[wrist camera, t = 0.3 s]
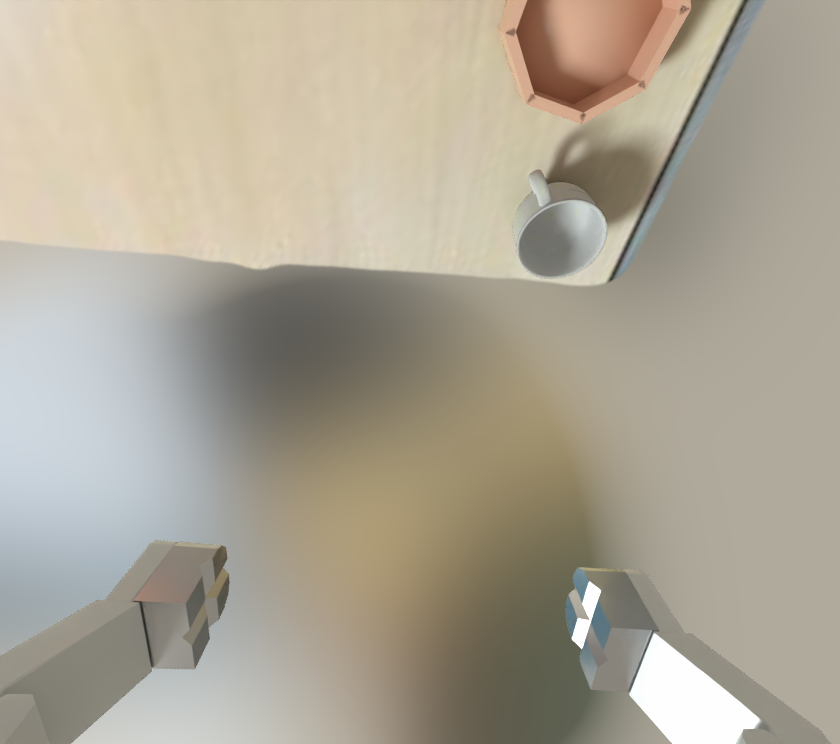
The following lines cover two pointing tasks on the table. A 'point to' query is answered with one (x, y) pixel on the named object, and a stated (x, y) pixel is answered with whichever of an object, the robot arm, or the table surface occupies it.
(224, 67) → the table surface
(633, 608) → the robot arm
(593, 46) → the terracotta bowl
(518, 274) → the table surface
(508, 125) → the table surface
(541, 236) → the teacup
